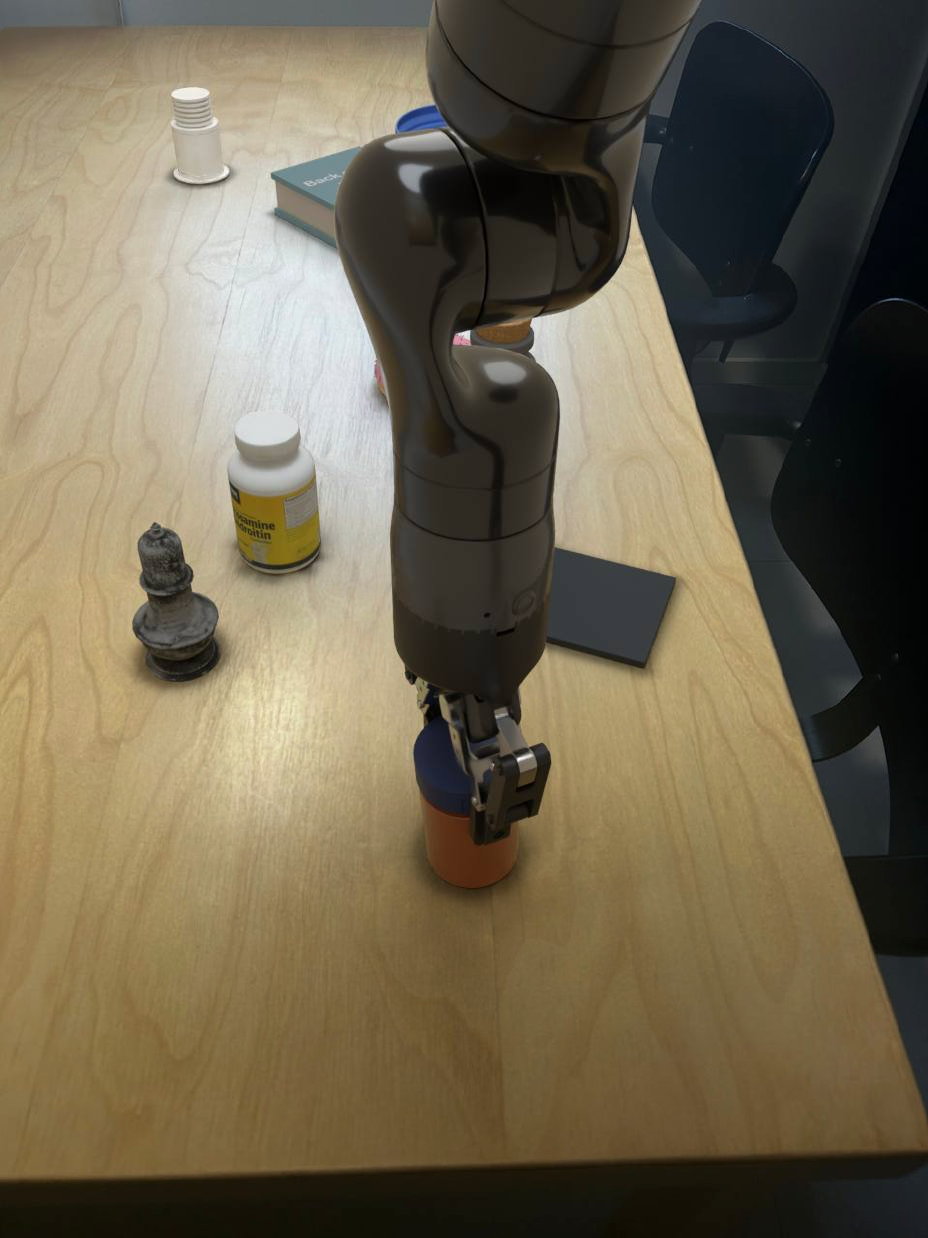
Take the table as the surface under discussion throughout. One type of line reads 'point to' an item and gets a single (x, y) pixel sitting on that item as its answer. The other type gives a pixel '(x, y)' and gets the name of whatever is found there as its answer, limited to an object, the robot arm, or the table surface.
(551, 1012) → the table surface
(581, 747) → the table surface
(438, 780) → the jar lid
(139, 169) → the table surface
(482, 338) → the bottle
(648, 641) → the coaster
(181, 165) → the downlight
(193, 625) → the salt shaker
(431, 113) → the bowl
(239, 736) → the table surface
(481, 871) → the jar
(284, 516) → the pill bottle
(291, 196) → the book
